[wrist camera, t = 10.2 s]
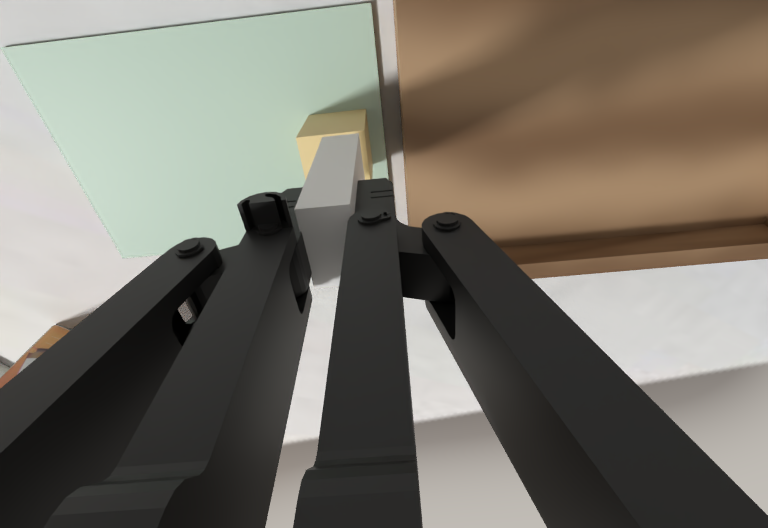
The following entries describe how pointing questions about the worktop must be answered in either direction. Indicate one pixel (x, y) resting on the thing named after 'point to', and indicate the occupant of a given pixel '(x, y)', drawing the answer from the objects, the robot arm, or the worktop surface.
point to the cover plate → (204, 116)
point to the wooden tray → (590, 128)
